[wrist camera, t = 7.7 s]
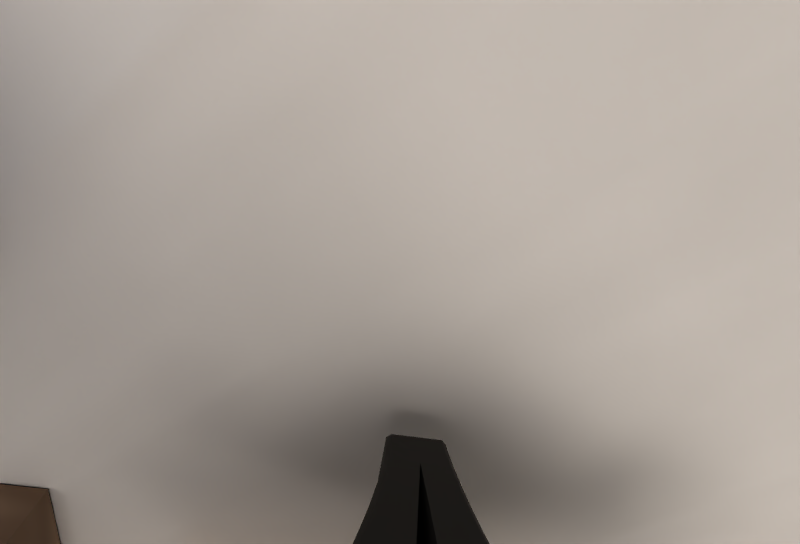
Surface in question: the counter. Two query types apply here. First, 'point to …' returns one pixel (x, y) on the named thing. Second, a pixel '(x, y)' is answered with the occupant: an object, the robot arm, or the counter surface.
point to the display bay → (26, 516)
